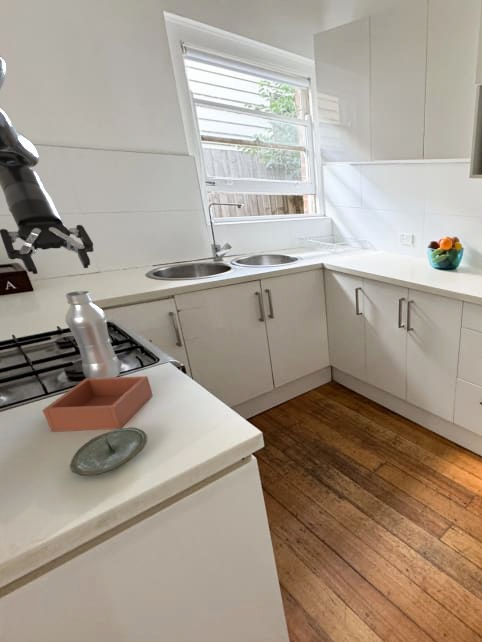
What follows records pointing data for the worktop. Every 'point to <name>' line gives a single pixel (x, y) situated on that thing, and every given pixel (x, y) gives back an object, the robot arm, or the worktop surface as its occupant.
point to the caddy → (98, 404)
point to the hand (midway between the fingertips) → (61, 268)
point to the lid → (108, 451)
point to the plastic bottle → (91, 336)
